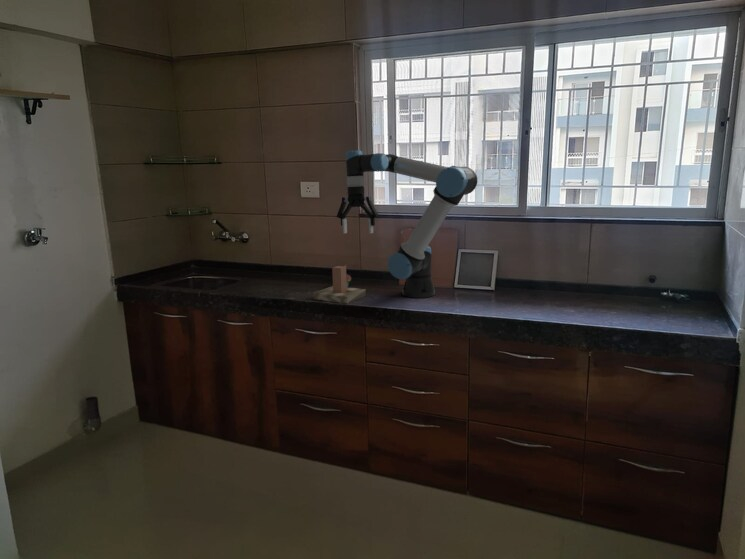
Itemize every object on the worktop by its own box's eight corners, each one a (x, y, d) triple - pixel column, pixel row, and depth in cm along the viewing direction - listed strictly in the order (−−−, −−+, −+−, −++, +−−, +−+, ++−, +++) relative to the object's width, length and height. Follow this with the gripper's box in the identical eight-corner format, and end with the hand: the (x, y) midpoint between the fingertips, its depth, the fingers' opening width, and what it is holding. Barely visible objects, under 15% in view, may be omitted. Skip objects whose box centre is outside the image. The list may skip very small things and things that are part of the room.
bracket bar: (346, 296, 241) (346, 266, 238) (341, 298, 237) (340, 268, 235) (338, 295, 243) (337, 265, 241) (333, 297, 240) (332, 267, 237)
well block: (365, 295, 243) (365, 289, 242) (347, 303, 229) (347, 296, 229) (333, 291, 252) (333, 285, 251) (313, 299, 238) (313, 292, 237)
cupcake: (352, 285, 264) (351, 262, 262) (350, 289, 256) (349, 265, 254) (335, 285, 265) (334, 262, 263) (332, 289, 257) (331, 265, 254)
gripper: (384, 184, 233) (386, 232, 237) (335, 186, 244) (338, 232, 248) (376, 185, 226) (379, 234, 230) (327, 187, 237) (330, 233, 241)
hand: (358, 233), depth 239 cm, fingers open, 13 cm apart
